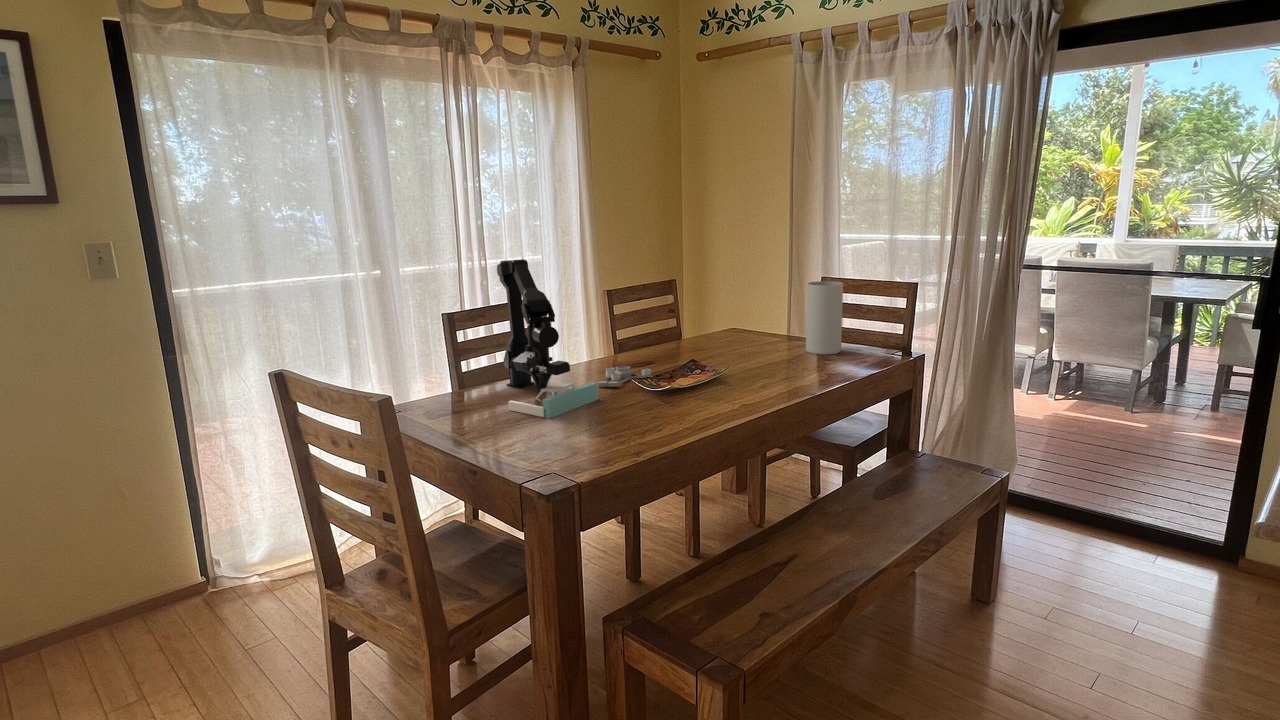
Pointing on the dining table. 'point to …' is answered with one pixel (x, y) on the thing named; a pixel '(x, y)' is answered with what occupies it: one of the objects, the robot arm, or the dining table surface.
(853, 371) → the dining table surface
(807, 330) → the cylinder vase
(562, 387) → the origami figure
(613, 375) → the pulley system
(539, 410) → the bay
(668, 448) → the dining table surface
